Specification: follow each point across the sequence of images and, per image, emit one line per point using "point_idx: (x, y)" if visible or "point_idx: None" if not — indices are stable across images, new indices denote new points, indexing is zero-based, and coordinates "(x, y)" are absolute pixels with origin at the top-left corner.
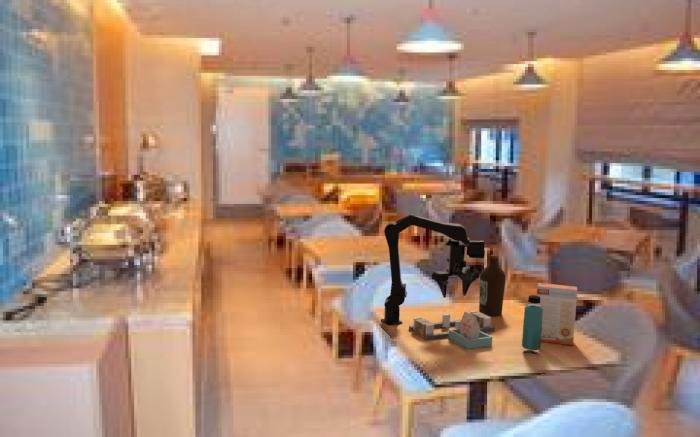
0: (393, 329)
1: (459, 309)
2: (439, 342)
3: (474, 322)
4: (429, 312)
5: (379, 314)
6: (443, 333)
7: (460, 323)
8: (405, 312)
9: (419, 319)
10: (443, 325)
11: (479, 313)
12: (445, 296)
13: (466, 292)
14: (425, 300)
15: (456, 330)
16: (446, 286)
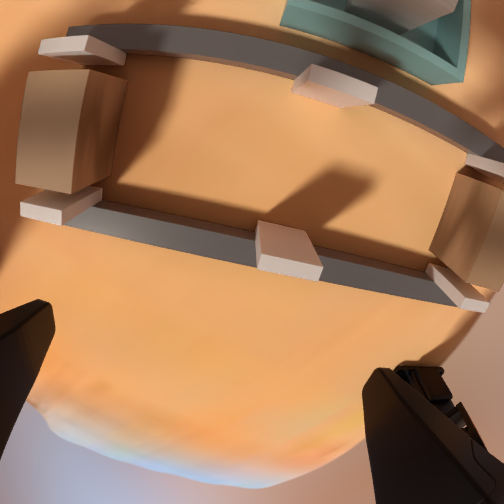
0: (471, 326)
1: None
2: (487, 95)
3: None
4: (173, 407)
5: (354, 445)
6: (447, 119)
7: (452, 8)
8: (262, 438)
9: (486, 284)
10: (305, 235)
11: (32, 161)
12: (393, 377)
13: (4, 315)
14: (108, 454)
15: (421, 49)
16: (484, 489)
